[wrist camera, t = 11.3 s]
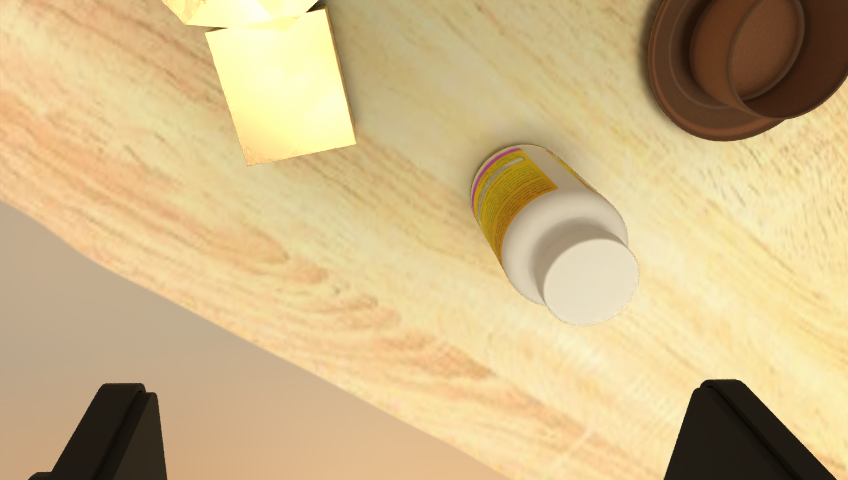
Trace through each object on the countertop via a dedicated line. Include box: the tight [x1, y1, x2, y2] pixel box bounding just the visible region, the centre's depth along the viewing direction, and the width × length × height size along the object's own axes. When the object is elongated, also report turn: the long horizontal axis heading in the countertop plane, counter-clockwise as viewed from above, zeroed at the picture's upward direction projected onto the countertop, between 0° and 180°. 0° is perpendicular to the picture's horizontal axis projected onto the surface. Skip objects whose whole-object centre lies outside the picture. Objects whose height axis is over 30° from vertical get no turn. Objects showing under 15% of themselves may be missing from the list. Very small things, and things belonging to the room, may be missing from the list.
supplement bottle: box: [471, 144, 639, 326], centre depth 34 cm, size 7×7×13 cm
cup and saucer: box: [648, 0, 848, 141], centre depth 34 cm, size 12×12×6 cm
